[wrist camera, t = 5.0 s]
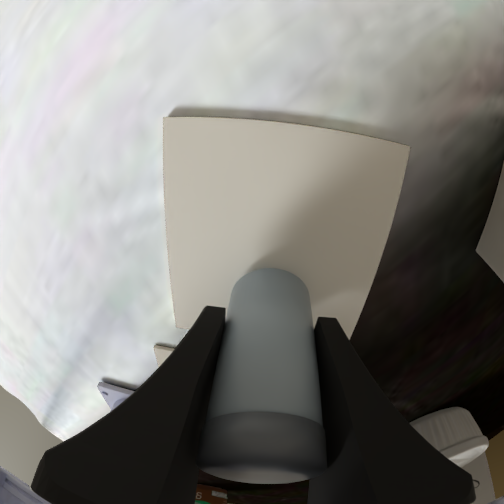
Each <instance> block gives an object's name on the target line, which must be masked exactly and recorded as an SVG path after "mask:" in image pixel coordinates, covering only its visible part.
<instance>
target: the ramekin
mask: <svg viewBox="0 0 504 504" xmlns="http://www.w3.org/2000/svg"><path fill="white" fill-rule="evenodd" d="M409 424H410V425H411V426H412V427H413V428H414V429H415V430H416V431H417V432H418V433H419V434H421V435H422V436H423V437H424V438H425V439H426V440H427V441H428V442H429V443H430V444H431V445H432V446H433V447H434V448H436V449H437V450H438V451H439V452H440V453H442V454H443V455H444V456H445V457H447V458H448V459H449V460H451V461H452V462H453V463H455V464H456V465H458V466H459V467H463V466H465V465H466V464H468V463H470V462H472V461H473V460H474V459H476V458H477V457H478V456H479V455H481V454H482V453H483V452H484V451H485V450H486V449H487V448H488V445H489V442H488V439H487V437H486V436H483V434H482V433H481V431H480V429H479V427H478V425H477V424H476V422H475V420H474V419H473V417H472V416H471V414H470V412H469V411H468V410H466V409H463V408H461V407H451V408H446V409H443V410H439V411H436V412H433V413H431V414H428V415H425V416H423V417H421V418H418V419H416V420H414V421H412V422H410V423H409Z"/></svg>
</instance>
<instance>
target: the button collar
mask: <svg viewBox="0 0 504 504" xmlns="http://www.w3.org/2000/svg"><path fill="white" fill-rule="evenodd" d="M475 251H476V252H477V253H478V254H479V255H480V256H481V257H482V258H483V259H484V261H485V262H486V263H487V264H488V265H489V266H490V267H491V268H492V270H493V271H494V272H495V273H496V274H497V275H498V276H499V278H500V279H501V280H502V281H503V282H504V162H503V167H502V171H501V175H500V179H499V183H498V186H497V190H496V193H495V197H494V200H493V203H492V207H491V210H490V213H489V216H488V219H487V222H486V224H485V227H484V230H483V233H482V235H481V238H480V240H479V243H478V245H477V248H476V250H475Z"/></svg>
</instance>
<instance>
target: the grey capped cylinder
mask: <svg viewBox="0 0 504 504" xmlns="http://www.w3.org/2000/svg"><path fill="white" fill-rule="evenodd" d="M196 465H197V467H199V468H200V469H201V470H203V471H205V472H207V473H209V474H211V475H214V476H217V477H220V478H224V479H228V480H233V481H239V482H246V483H257V484H280V483H291V482H298V481H303V480H307V479H311V478H314V477H316V476H319V475H321V474H322V473H324V472H325V471H326V470H327V452H326V436H325V430H324V428H323V421H322V408H321V395H320V384H319V373H318V363H317V353H316V344H315V335H314V327H313V318H312V310H311V303H310V295H309V291H308V289H307V287H306V285H305V284H304V282H303V281H302V280H301V279H300V278H299V277H297V276H296V275H294V274H292V273H290V272H288V271H285V270H281V269H276V268H264V269H258V270H255V271H252V272H249V273H247V274H246V275H244V276H243V277H241V278H240V279H239V280H238V281H237V282H236V284H235V285H234V287H233V289H232V292H231V296H230V301H229V306H228V311H227V316H226V321H225V327H224V331H223V336H222V341H221V346H220V351H219V355H218V360H217V365H216V370H215V375H214V380H213V385H212V390H211V395H210V401H209V406H208V411H207V416H206V421H205V423H204V425H203V427H202V431H201V436H200V442H199V447H198V452H197V457H196Z"/></svg>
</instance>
